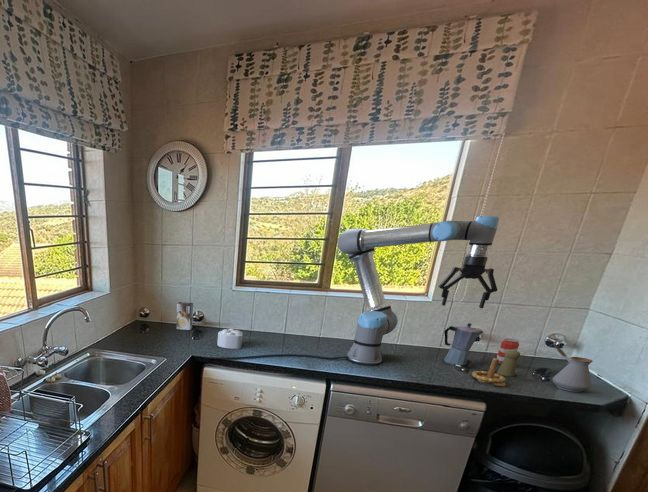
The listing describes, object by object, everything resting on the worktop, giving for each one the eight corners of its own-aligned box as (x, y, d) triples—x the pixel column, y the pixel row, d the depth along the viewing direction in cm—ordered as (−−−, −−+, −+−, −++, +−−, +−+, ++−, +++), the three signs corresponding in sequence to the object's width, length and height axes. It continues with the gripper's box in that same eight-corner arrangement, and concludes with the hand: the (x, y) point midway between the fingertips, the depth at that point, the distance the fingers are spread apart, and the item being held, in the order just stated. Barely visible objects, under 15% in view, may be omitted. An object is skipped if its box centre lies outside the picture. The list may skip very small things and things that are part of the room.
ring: (476, 381, 170) (477, 377, 169) (467, 372, 180) (468, 369, 179) (509, 385, 166) (510, 381, 166) (498, 375, 176) (499, 372, 175)
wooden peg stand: (478, 383, 171) (486, 360, 167) (472, 376, 179) (479, 354, 175) (505, 386, 168) (513, 363, 164) (497, 379, 175) (505, 357, 172)
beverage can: (492, 362, 196) (500, 338, 192) (500, 360, 198) (508, 337, 194) (506, 366, 191) (514, 342, 186) (514, 364, 193) (523, 340, 189)
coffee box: (192, 328, 253) (193, 302, 248) (190, 330, 248) (191, 304, 242) (178, 326, 256) (179, 301, 250) (175, 329, 250) (176, 303, 245)
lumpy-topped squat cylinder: (240, 349, 213) (242, 333, 209) (216, 347, 216) (217, 331, 212) (241, 343, 222) (243, 328, 219) (218, 342, 225) (219, 327, 222)
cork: (514, 373, 182) (523, 350, 178) (514, 377, 177) (522, 353, 173) (497, 370, 185) (505, 347, 181) (496, 374, 181) (504, 350, 177)
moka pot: (477, 368, 188) (491, 326, 181) (440, 365, 191) (452, 324, 184) (466, 361, 197) (479, 321, 190) (431, 359, 200) (443, 319, 193)
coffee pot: (596, 394, 160) (613, 359, 155) (564, 393, 162) (579, 357, 156) (554, 375, 180) (567, 343, 174) (526, 374, 181) (538, 342, 176)
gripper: (443, 255, 168) (429, 305, 176) (517, 257, 159) (500, 310, 167) (439, 253, 175) (426, 302, 183) (510, 256, 166) (494, 307, 173)
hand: (461, 306), depth 175 cm, fingers open, 13 cm apart
